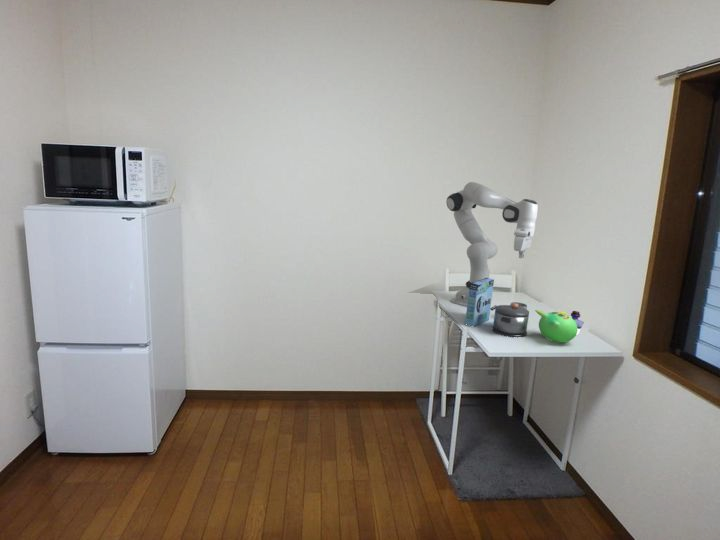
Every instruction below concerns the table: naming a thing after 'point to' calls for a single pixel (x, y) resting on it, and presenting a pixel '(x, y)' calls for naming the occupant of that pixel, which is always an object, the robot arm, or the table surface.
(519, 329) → the cooker pot
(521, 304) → the cup
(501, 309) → the lid
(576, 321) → the potion bottle
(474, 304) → the gum box
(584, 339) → the table surface
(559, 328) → the toy bird
